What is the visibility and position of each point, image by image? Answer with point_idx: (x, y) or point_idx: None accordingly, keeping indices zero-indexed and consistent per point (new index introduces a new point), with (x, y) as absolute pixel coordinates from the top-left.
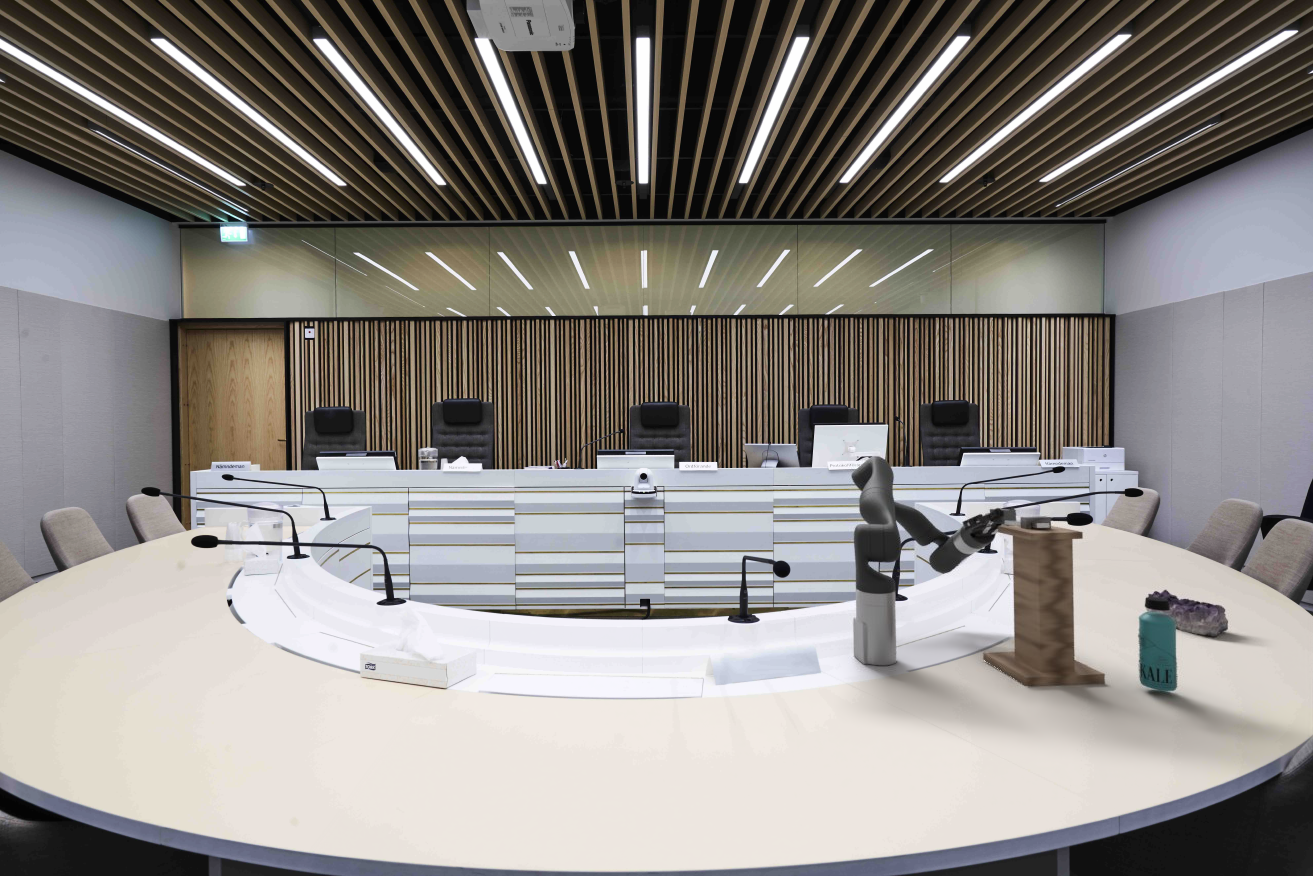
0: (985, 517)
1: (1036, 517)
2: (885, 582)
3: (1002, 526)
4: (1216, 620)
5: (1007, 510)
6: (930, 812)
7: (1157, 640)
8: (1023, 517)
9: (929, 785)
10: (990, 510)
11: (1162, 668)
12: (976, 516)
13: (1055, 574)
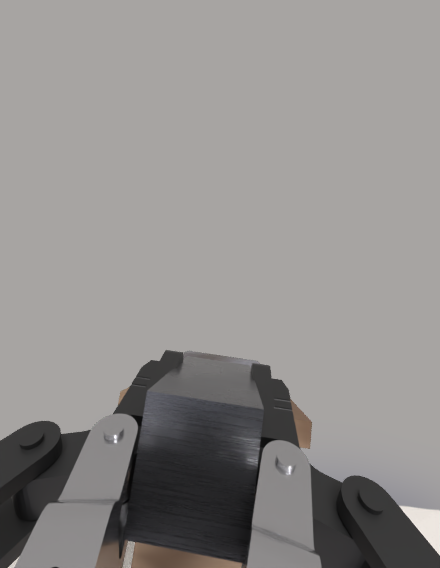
0: (317, 487)
1: (224, 356)
2: None
3: (298, 416)
4: None
5: (231, 364)
6: (429, 526)
7: None
8: (258, 362)
9: (437, 546)
10: (261, 418)
11: None
12: (412, 534)
13: None
